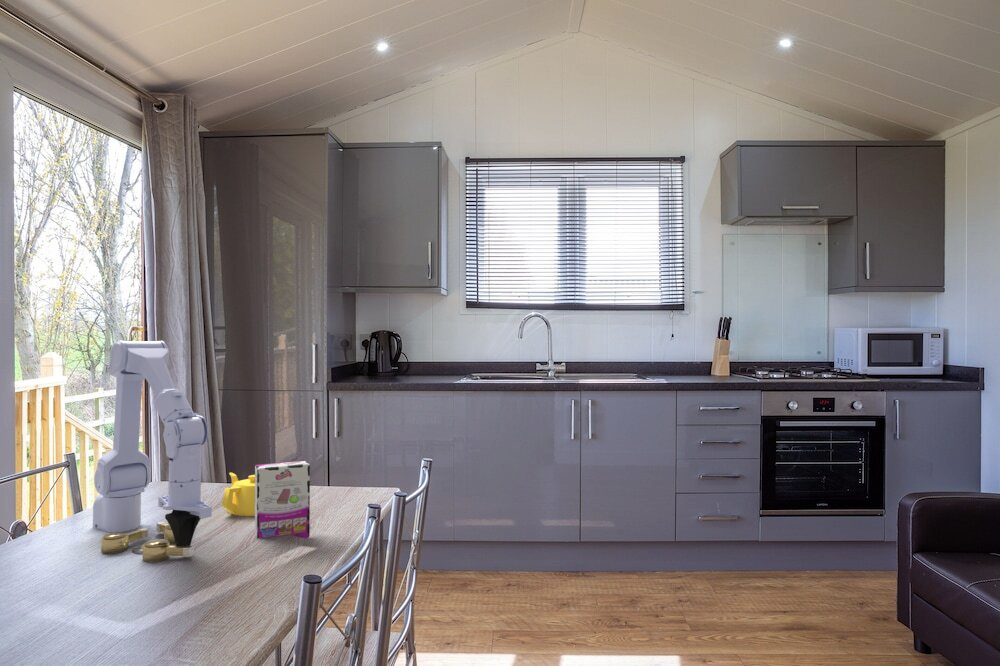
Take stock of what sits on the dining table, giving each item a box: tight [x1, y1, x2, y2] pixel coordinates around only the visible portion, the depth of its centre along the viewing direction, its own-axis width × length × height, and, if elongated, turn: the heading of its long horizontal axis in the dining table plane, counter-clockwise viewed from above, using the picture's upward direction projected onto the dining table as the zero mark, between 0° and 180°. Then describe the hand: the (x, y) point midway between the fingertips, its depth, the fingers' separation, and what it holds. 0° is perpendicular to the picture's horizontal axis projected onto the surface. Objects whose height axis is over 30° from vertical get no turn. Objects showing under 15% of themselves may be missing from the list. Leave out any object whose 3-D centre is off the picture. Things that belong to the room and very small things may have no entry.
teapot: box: [221, 472, 255, 517], centre depth 160 cm, size 14×13×10 cm
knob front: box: [141, 538, 194, 563], centre depth 124 cm, size 9×5×3 cm, turn 88°
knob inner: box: [100, 527, 149, 555], centre depth 131 cm, size 9×5×3 cm, turn 158°
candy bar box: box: [254, 460, 311, 539], centre depth 142 cm, size 11×5×16 cm, turn 118°
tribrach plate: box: [131, 543, 144, 555], centre depth 131 cm, size 22×21×2 cm
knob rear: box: [156, 521, 176, 544], centre depth 137 cm, size 9×5×3 cm, turn 55°
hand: (183, 548), depth 126 cm, fingers closed
